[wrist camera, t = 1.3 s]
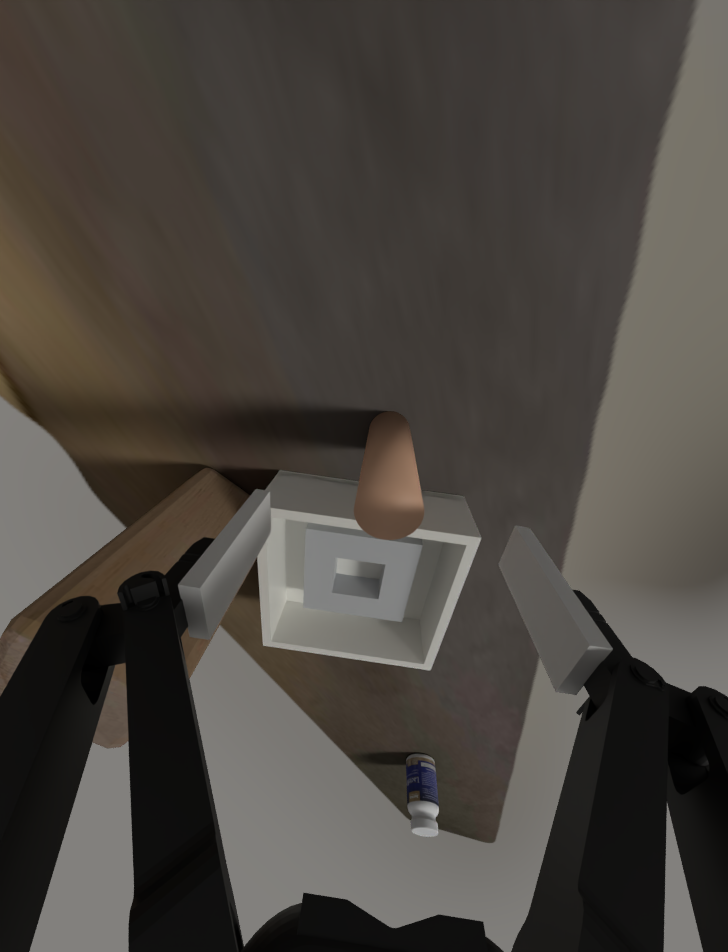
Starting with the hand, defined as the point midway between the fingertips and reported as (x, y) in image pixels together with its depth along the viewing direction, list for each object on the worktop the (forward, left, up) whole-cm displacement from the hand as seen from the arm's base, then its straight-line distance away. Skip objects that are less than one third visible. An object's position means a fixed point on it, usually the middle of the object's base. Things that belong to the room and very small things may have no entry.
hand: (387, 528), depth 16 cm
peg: (0, 0, -15) cm, 15 cm away
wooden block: (+13, -18, -15) cm, 27 cm away
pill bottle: (+68, +17, -15) cm, 71 cm away
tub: (+16, -1, -15) cm, 22 cm away
